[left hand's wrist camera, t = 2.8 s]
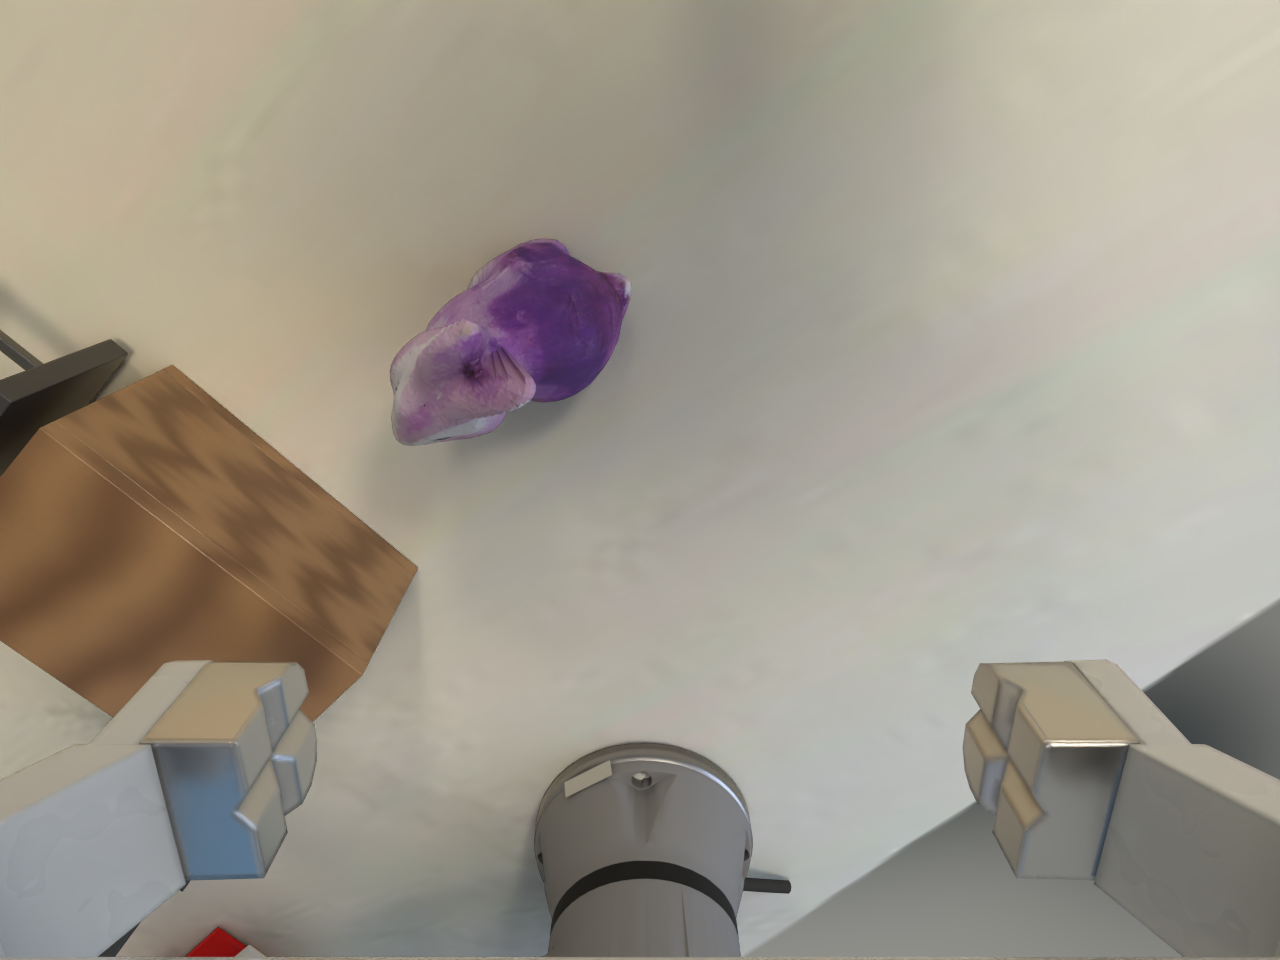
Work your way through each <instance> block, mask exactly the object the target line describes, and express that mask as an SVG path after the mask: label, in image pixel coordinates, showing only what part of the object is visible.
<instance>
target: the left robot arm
mask: <svg viewBox="0 0 1280 960" xmlns="http://www.w3.org/2000/svg"><path fill="white" fill-rule="evenodd" d="M308 694H309V691H308V686H307V681H306V676H305V672H304V669H303V668H302V667H301V666H300V665H299V664H298V663H297V662H267V661H218V660H217V661H211V660H175V661H171V662H167V663H164V664H163V665H162V666H161V667H160V668H159V669H158V670H157V671H156V673H155V674H154V675H153V676H152V677H151V678H150V679H149V680H148V681H147V682H146V683H145V684H144V685H143V686H142V688H141V689H140V690H139V691H138V692H137V693H136V694H135V695H134V696H133V697H132V698H131V699H130V700H129V701H128V703H127V704H126V705H125V706H124V707H123V708H122V709H121V710H120V711H119V712H118V713H117V714H116V715H115V717H114V718H113V719H112V720H111V721H110V722H109V723H108V724H107V725H106V726H105V727H104V728H103V729H102V730H101V732H100V733H99V734H98V735H97V736H96V737H95V738H94V739H93V740H92V741H91V742H90V743H89V744H74V745H72V746H70V747H68V748H66V749H64V750H62V751H60V752H58V753H56V754H54V755H52V756H49V757H47V758H45V759H43V760H41V761H39V762H37V763H35V764H33V765H31V766H29V767H26V768H24V769H22V770H20V771H18V772H16V773H14V774H12V775H10V776H8V777H6V778H3V779H1V780H0V960H1280V780H1278V779H1276V778H1274V777H1272V776H1270V775H1268V774H1266V773H1264V772H1262V771H1260V770H1258V769H1256V768H1253V767H1251V766H1249V765H1247V764H1245V763H1243V762H1241V761H1239V760H1237V759H1235V758H1233V757H1231V756H1228V755H1226V754H1224V753H1222V752H1220V751H1218V750H1216V749H1214V748H1212V747H1210V746H1208V745H1205V744H1191V743H1190V742H1189V741H1188V740H1187V739H1186V738H1185V737H1184V736H1183V735H1182V734H1181V733H1180V732H1179V730H1178V729H1177V728H1176V727H1175V726H1174V725H1173V724H1172V723H1171V722H1170V721H1169V720H1168V719H1167V718H1166V716H1165V715H1164V714H1163V713H1162V712H1161V711H1160V710H1159V709H1158V708H1157V707H1156V706H1155V705H1154V704H1153V703H1152V701H1151V700H1150V699H1149V698H1148V697H1147V696H1146V695H1145V694H1144V693H1143V692H1142V691H1141V690H1140V689H1139V687H1138V686H1137V685H1136V684H1135V683H1134V682H1133V681H1132V680H1131V679H1130V678H1129V677H1128V676H1127V675H1126V673H1125V672H1124V671H1123V670H1122V669H1121V668H1120V667H1119V666H1118V665H1117V664H1115V663H1113V662H1110V661H1108V660H1082V661H1064V662H1024V663H980V664H979V666H978V669H977V671H976V673H975V675H974V680H973V685H972V690H971V694H972V695H973V697H974V699H975V700H976V702H977V704H978V705H979V707H980V710H979V711H978V712H977V713H976V714H975V715H974V716H973V717H972V718H971V719H970V720H969V721H968V722H967V723H966V726H965V734H964V742H963V756H964V767H965V773H966V776H967V780H968V783H969V787H970V789H971V791H972V793H973V795H974V797H975V799H976V801H977V803H978V804H979V805H980V806H982V807H983V808H985V809H986V810H988V811H989V812H990V813H992V814H993V815H995V822H994V827H993V834H994V836H995V838H996V840H997V842H998V844H999V846H1000V848H1001V850H1002V852H1003V853H1004V855H1005V857H1006V859H1007V861H1008V863H1009V865H1010V867H1011V869H1012V871H1013V873H1014V874H1015V876H1016V878H1027V879H1064V880H1095V881H1094V884H1095V885H1096V886H1097V887H1098V888H1099V889H1101V890H1102V891H1103V892H1104V893H1106V894H1107V895H1108V896H1109V897H1110V898H1112V899H1113V900H1114V901H1115V902H1117V903H1118V904H1119V905H1120V906H1121V907H1123V908H1124V909H1125V910H1126V911H1128V912H1129V913H1130V914H1131V915H1132V916H1134V917H1135V918H1136V919H1137V920H1138V921H1140V922H1141V923H1142V924H1143V925H1145V926H1146V927H1147V928H1148V929H1149V930H1151V931H1152V932H1153V933H1154V934H1156V935H1157V936H1158V937H1159V938H1160V939H1162V940H1163V941H1164V942H1165V943H1167V944H1168V945H1169V946H1170V947H1171V948H1173V949H1174V950H1175V951H1176V952H1177V953H1179V954H1180V955H1181V956H1182V957H98V956H99V955H100V954H102V953H103V952H104V951H105V950H106V949H108V948H109V947H110V946H111V945H113V944H114V943H115V942H116V941H117V940H119V939H120V938H121V937H122V936H124V935H125V934H126V933H127V932H128V931H130V930H131V929H132V928H133V927H135V926H136V925H137V924H138V923H139V922H141V921H142V920H143V919H144V918H146V917H147V916H148V915H149V914H150V913H152V912H153V911H154V910H155V909H157V908H158V907H159V906H160V905H161V904H163V903H164V902H165V901H166V900H168V899H169V898H170V897H171V896H172V895H174V894H175V893H176V892H177V891H179V890H180V889H181V888H182V887H183V886H185V885H186V882H185V880H216V879H250V878H264V877H265V875H266V873H267V871H268V869H269V867H270V865H271V863H272V861H273V859H274V857H275V856H276V854H277V852H278V850H279V848H280V846H281V844H282V842H283V840H284V838H285V836H286V834H287V827H286V822H285V815H287V814H288V813H290V812H291V811H292V810H294V809H295V808H297V807H298V806H300V805H301V804H302V803H303V801H304V799H305V797H306V795H307V793H308V791H309V789H310V787H311V784H312V779H313V775H314V771H315V766H316V762H317V739H316V733H315V726H314V723H313V722H312V721H311V720H310V719H309V718H308V717H307V716H306V715H305V714H304V713H303V712H302V711H301V710H300V707H301V705H302V704H303V702H304V700H305V699H306V697H307V695H308Z"/></svg>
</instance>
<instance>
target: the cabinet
mask: <svg viewBox="0 0 1280 960" xmlns="http://www.w3.org/2000/svg"><path fill="white" fill-rule="evenodd" d="M417 569H418V567H417V566H415V565H414V564H413V563H412V562H410V561H409V560H408V559H407V558H406V557H404V556H403V555H402V554H401V553H400V552H398V551H397V550H396V549H395V548H393V547H392V546H391V545H390V544H389V543H387V542H386V541H385V540H384V539H383V538H381V537H380V536H379V535H378V534H377V533H375V532H374V531H373V530H372V529H370V528H369V527H368V526H367V525H366V524H364V523H363V522H362V521H361V520H360V519H358V518H357V517H356V516H355V515H354V514H352V513H351V512H350V511H349V510H347V509H346V508H345V507H344V506H343V505H341V504H340V503H339V502H338V501H337V500H335V499H334V498H333V497H332V496H331V495H329V494H328V493H327V492H326V491H324V490H323V489H322V488H321V487H320V486H318V485H317V484H316V483H315V482H314V481H312V480H311V479H310V478H309V477H307V476H306V475H305V474H304V473H303V472H301V471H300V470H299V469H298V468H297V467H295V466H294V465H293V464H292V463H291V462H289V461H288V460H287V459H286V458H284V457H283V456H282V455H281V454H280V453H278V452H277V451H276V450H275V449H274V448H272V447H271V446H270V445H269V444H268V443H266V442H265V441H264V440H263V439H261V438H260V437H259V436H258V435H257V434H255V433H254V432H253V431H252V430H251V429H249V428H248V427H247V426H246V425H245V424H243V423H242V422H241V421H240V420H238V419H237V418H236V417H235V416H234V415H232V414H231V413H230V412H229V411H228V410H226V409H225V408H224V407H223V406H221V405H220V404H219V403H218V402H217V401H215V400H214V399H213V398H212V397H211V396H209V395H208V394H207V393H206V392H205V391H203V390H202V389H201V388H200V387H198V386H197V385H196V384H195V383H194V382H192V381H191V380H190V379H189V378H188V377H186V376H185V375H184V374H183V373H182V372H180V371H179V370H178V369H177V368H175V367H174V366H173V365H171V366H169V367H167V368H164V369H163V370H161V371H158V372H156V373H154V374H152V375H150V376H148V377H146V378H144V379H142V380H140V381H137V382H135V383H133V384H131V385H129V386H127V387H125V388H123V389H121V390H119V391H116V392H114V393H112V394H110V395H108V396H106V397H104V398H102V399H100V400H98V401H96V402H93V403H91V404H89V405H87V406H85V407H83V408H81V409H79V410H77V411H75V412H72V413H70V414H68V415H66V416H64V417H62V418H60V419H58V420H56V421H53V422H51V423H49V424H47V425H45V426H43V427H41V428H39V429H38V431H37V432H36V433H35V434H34V436H33V437H32V438H31V439H30V441H29V442H28V443H27V445H26V446H25V447H24V448H23V450H22V451H21V452H20V453H19V455H18V456H17V457H16V458H15V460H14V461H13V462H12V463H11V465H10V466H9V467H8V468H7V470H6V471H5V472H4V473H3V475H2V476H1V477H0V641H2V642H3V643H4V644H6V645H7V646H9V647H10V648H12V649H13V650H15V651H16V652H18V653H19V654H21V655H22V656H24V657H25V658H26V659H28V660H29V661H31V662H32V663H34V664H35V665H37V666H38V667H40V668H41V669H43V670H44V671H46V672H47V673H48V674H50V675H51V676H53V677H54V678H56V679H57V680H59V681H60V682H62V683H63V684H65V685H66V686H68V687H69V688H70V689H72V690H73V691H75V692H76V693H78V694H79V695H81V696H82V697H84V698H85V699H87V700H88V701H89V702H91V703H92V704H94V705H95V706H97V707H98V708H100V709H101V710H103V711H104V712H106V713H107V714H109V715H110V716H111V717H113V718H114V717H115V715H116V714H117V713H118V712H119V711H120V710H121V709H122V708H123V707H124V706H125V705H126V704H127V703H128V701H129V700H130V699H131V698H132V697H133V696H134V695H135V694H136V693H137V692H138V691H139V690H140V689H141V688H142V686H143V685H144V684H145V683H146V682H147V681H148V680H149V679H150V678H151V677H152V676H153V675H154V674H155V673H156V671H157V670H158V669H159V668H160V667H161V666H162V665H163V664H164V663H167V662H171V661H175V660H211V661H217V660H218V661H267V662H297V663H298V664H299V665H300V666H301V667H302V668H303V669H304V672H305V676H306V681H307V686H308V691H309V694H308V695H307V697H306V699H305V700H304V702H303V704H302V705H301V707H300V710H301V711H302V712H303V713H304V714H305V715H306V716H307V717H308V718H309V719H310V720H311V721H312V722H313V721H314V720H315V719H316V718H318V717H319V716H320V715H321V714H322V713H323V712H324V711H325V710H326V709H327V708H328V707H329V706H330V705H331V704H332V703H333V702H334V701H336V700H337V699H338V698H339V697H340V696H341V695H342V694H343V693H344V692H345V691H346V690H347V689H348V688H349V687H350V686H351V685H353V684H354V683H355V682H356V681H357V680H358V679H359V678H360V677H361V676H362V675H363V673H364V671H365V669H366V667H367V665H368V663H369V661H370V659H371V658H372V656H373V654H374V652H375V650H376V648H377V646H378V644H379V642H380V640H381V638H382V636H383V634H384V633H385V631H386V629H387V627H388V625H389V623H390V621H391V619H392V617H393V615H394V613H395V611H396V609H397V608H398V606H399V604H400V602H401V600H402V598H403V596H404V594H405V592H406V590H407V588H408V586H409V585H410V583H411V581H412V579H413V577H414V575H415V573H416V571H417Z"/></svg>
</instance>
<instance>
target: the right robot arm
mask: <svg viewBox="0 0 1280 960" xmlns="http://www.w3.org/2000/svg"><path fill="white" fill-rule="evenodd" d="M752 848H753V839H752V831H751V825H750V819H749V813H748V809H747V805H746V802H745V800H744V798H743V796H742V794H741V792H740V790H739V789H738V787H737V786H736V784H735V783H734V782H733V780H732V779H731V778H730V777H729V776H728V775H727V774H726V773H725V772H724V771H723V770H721V769H720V768H719V767H718V766H716V765H715V764H713V763H712V762H710V761H709V760H707V759H705V758H704V757H702V756H700V755H697V754H695V753H693V752H690V751H687V750H685V749H681V748H678V747H674V746H669V745H663V744H654V743H633V744H624V745H618V746H614V747H609V748H606V749H603V750H600V751H597V752H594V753H592V754H590V755H588V756H586V757H584V758H582V759H580V760H578V761H577V762H575V763H574V764H572V765H571V766H570V767H568V768H567V769H566V770H564V771H563V772H562V773H561V774H560V775H559V776H558V777H557V778H556V779H555V781H554V782H553V783H552V784H551V786H550V787H549V789H548V790H547V792H546V794H545V796H544V798H543V800H542V802H541V805H540V808H539V812H538V817H537V824H536V831H535V839H534V850H535V856H536V861H537V865H538V869H539V872H540V875H541V878H542V880H543V882H544V887H545V894H546V899H547V903H548V906H549V910H550V914H551V917H552V923H551V933H550V941H549V948H548V953H547V954H546V955H545V956H542V957H741V954H740V946H739V938H738V930H737V922H736V917H737V913H738V909H739V905H740V901H741V897H742V892H743V891H755V892H770V893H789V892H790V891H791V883H790V882H789V881H786V880H769V879H756V878H746V875H747V872H748V869H749V864H750V860H751V856H752ZM185 882H186V885H185V886H183V887H182V888H181V889H180V890H181V891H182V892H183V890H184V889H185V887H186V886H187V885H188V883H189V882H190V880H185ZM139 924H140V922H139V923H138V924H137V925H136V926H135V927H133V928H132V929H131V930H130V931H128V932H127V933H126V934H125V935H124V936H122V937H121V938H120V939H119V940H117V941H116V942H115V943H114V944H113V945H111V946H110V947H109V948H108V949H106V950H105V951H104V952H103V953H102V954H100V955H99V956H98V957H115V956H116V955H117V953H118V952H119V951H120V949H121V948H122V946H123V945H124V944H125V942H126V941H127V940H128V938H129V937H130V936H131V934H132V933H133V932H134V930H135V929H136V928H137V926H138V925H139Z"/></svg>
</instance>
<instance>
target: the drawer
mask: <svg viewBox="0 0 1280 960" xmlns="http://www.w3.org/2000/svg"><path fill="white" fill-rule="evenodd" d="M0 351H1V352H3V353H4V354H5V355H7V356H8V357H9V358H10V359H12V360H13V361H14V362H16V363H17V364H18V365H19V366H21V367H22V368H23V369H24V370H26V371H24V372H21V373H18V374H15V375H13V376H10V377H7V378H5V379H2V380H0V477H1V476H2V475H3V473H4V472H5V471H6V470H7V468H8V467H9V466H10V465H11V463H12V462H13V461H14V460H15V458H16V457H17V456H18V455H19V453H20V452H21V451H22V450H23V448H24V447H25V446H26V445H27V443H28V442H29V441H30V439H31V438H32V437H33V436H34V434H35V433H36V432H37V431H38V429H39V428H41V427H43V426H45V425H47V424H49V423H51V422H53V421H56V420H58V419H60V418H62V417H64V416H66V415H68V414H70V413H72V412H75V411H77V410H79V409H81V408H83V407H85V406H87V405H88V403H89V402H90V401H91V400H92V398H93V397H94V396H95V395H96V394H97V392H98V391H99V390H100V389H101V387H102V386H103V385H104V384H105V382H106V381H107V380H108V379H109V377H110V376H111V375H112V374H113V373H114V371H115V370H116V369H117V368H118V366H119V365H120V364H121V363H122V361H123V360H124V359H125V358H126V356H127V355H128V353H127V352H126V351H125V350H123V349H122V348H121V347H120V346H119V345H117V344H116V343H115V342H114V341H112V340H111V339H109V340H107V341H104V342H101V343H99V344H96V345H93V346H91V347H88V348H85V349H83V350H80V351H77V352H75V353H72V354H69V355H66V356H64V357H61V358H58V359H56V360H53V361H50V362H48V363H45V364H43V363H42V362H40V361H39V360H38V359H37V358H35V357H34V356H33V355H32V354H30V353H29V352H28V351H26V350H25V349H24V348H23V347H21V346H20V345H19V344H18V343H16V342H15V341H14V340H13V339H11V338H10V337H9V336H7V335H6V334H5V333H4V332H2V331H1V330H0Z"/></svg>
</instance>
